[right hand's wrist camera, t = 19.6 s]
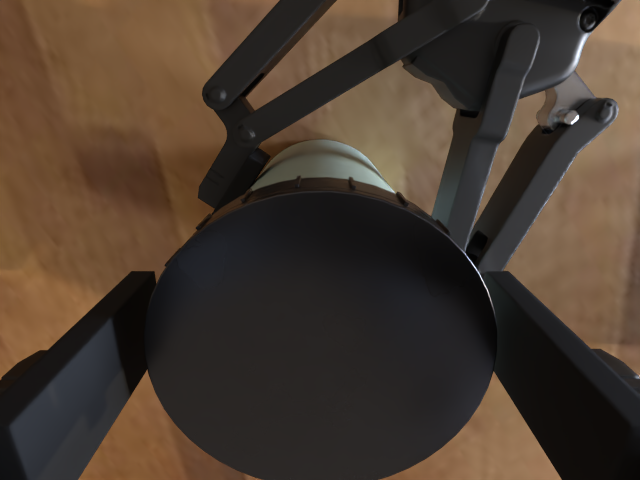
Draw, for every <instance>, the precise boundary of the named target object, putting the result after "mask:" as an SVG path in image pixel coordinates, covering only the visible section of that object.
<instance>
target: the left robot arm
mask: <svg viewBox="0 0 640 480" xmlns="http://www.w3.org/2000/svg"><path fill="white" fill-rule="evenodd" d="M336 1H337V0H280V1H279V2H278V3H277V4H276V5H275V6H274V7H273V9H272V10H271V11H270V12H269V13H268V14H267V15H266V16H265V17H264V19H263V20H262V21H261V22H260V23H259V24H258V25H257V26H256V28H255V29H254V30H253V31H252V32H251V33H250V34H249V35H248V37H247V38H246V39H245V40H244V41H243V42H242V43H241V44H240V46H239V47H238V48H237V49H236V50H235V51H234V52H233V53H232V54H231V56H230V57H229V58H228V59H227V60H226V61H225V62H224V63H223V65H222V66H221V67H220V68H219V69H218V70H217V71H216V72H215V74H214V75H213V76H212V77H211V78H210V79H209V80H208V81H207V82H206V84H205V85H204V87H203V91H202V96H203V100H204V102H205V103H206V105H207V106H209V107H210V108H211V109H213V110H214V111H215V112H216V114H217V115H218V116H219V118H220V119H221V120H222V122H223V123H224V125H225V127H226V130H227V140H226V142H225V144H224V146H223V148H222V149H221V151H220V153H219V154H218V156H217V158H216V159H215V161H214V163H213V164H212V166H211V168H210V170H209V171H208V173H207V174H206V176H205V178H204V179H203V181H202V183H201V184H200V186H199V192H198V198H199V199H200V200H202V201H204V202H205V203H207V204H208V205H210V206H212V207H213V208H215V210H214V211H213V213H212V215H213V214H215V213H216V212H217V211H218V210H219V209H221V208H222V207H224V206H225V205H227V204H229V203H230V202H232V201H233V200H235V199H237V198H238V197H240V196H242V195H244V194H245V193H246V192H247V190H248V189H250V187H251V186H252V185H253V183H254V182H255V180H256V178H257V177H258V175H259V174H260V172H261V171H262V169H263V168H264V166H265V164H266V163H267V161H268V160H269V158H270V157H271V156H270V155H268V154H267V153H265V152H264V151H262V150H261V149H259V148H258V147H259V145H260V144H261V142H263V141H264V140H266V139H268V138H269V137H271V136H273V135H274V134H276V133H278V132H279V131H281V130H283V129H284V128H286V127H288V126H289V125H291V124H293V123H294V122H296V121H298V120H299V119H301V118H303V117H304V116H306V115H308V114H309V113H311V112H313V111H314V110H316V109H318V108H319V107H321V106H323V105H324V104H326V103H328V102H329V101H331V100H333V99H334V98H336V97H338V96H339V95H341V94H343V93H344V92H346V91H348V90H350V89H351V88H353V87H355V86H356V85H358V84H360V83H361V82H363V81H365V80H366V79H368V78H370V77H371V76H373V75H375V74H376V73H378V72H380V71H381V70H383V69H385V68H387V67H388V66H390V65H392V64H394V63H395V62H397V61H399V60H400V59H401V60H402V62H403V64H404V65H403V66H402V67H403V68H404V69H405V70H407V71H408V72H409V73H410V74H412V75H413V76H414V77H416V78H418V79H421V80H423V81H426V82H428V83H431V84H432V85H433V87H434V88H435V90H436V91H437V92H438V94H439V95H440V97H441V98H442V99H443V100H444V101H446V102H447V103H448V104H449V105H451V106H452V107H453V108H457V110H456V114H455V118H454V122H453V138H452V142H451V146H450V149H449V153H448V157H447V160H446V164H445V168H444V172H443V175H442V179H441V183H440V186H439V190H438V194H437V197H436V201H435V205H434V209H433V212H432V216H431V217H432V218H433V219H434V220H436V219H438V220H440V222H441V223H442V224H443V225H444V226H445V227H446V228H447V229H448V230H449V231H450V232H451V233H452V234H451V235H450V237H451V238H452V239H453V240H454V241H455V242H456V243H457V244H458V245H459V247H460V248H461V249H462V250H463V251H464V252H465V253H466V255H467V256H468V257H469V259H470V260H471V261H472V263H473V264H474V265H475V266H476V267H477V268H478V269H479V271H480V275H481V277H482V279H483V281H484V279H485V272H486V271H503V270H504V268H505V266H506V265H507V263H508V262H509V260H510V259H511V257H512V256H513V254H514V252H515V251H516V249H517V248H518V246H519V245H520V243H521V241H522V240H523V238H524V237H525V235H526V234H527V232H528V231H529V229H530V227H531V226H532V224H533V223H534V221H535V220H536V218H537V216H538V215H539V213H540V212H541V210H542V209H543V207H544V206H545V204H546V202H547V201H548V199H549V198H550V196H551V195H552V193H553V192H554V190H555V188H556V187H557V185H558V184H559V182H560V181H561V179H562V177H563V176H564V174H565V173H566V171H567V170H568V168H569V167H570V165H571V163H572V162H573V160H574V159H575V157H576V156H577V154H578V153H579V152H580V151H581V150H582V149H583V148H584V147H586V146H587V145H588V144H589V143H590V142H591V141H592V140H594V139H595V138H596V137H597V136H598V135H599V134H600V133H602V132H603V131H604V130H605V129H606V128H607V127H608V126H610V125H611V124H612V123H613V122H614V120H615V119H616V117H617V115H618V105H617V103H616V102H615V101H614V100H613V99H609V98H596V97H595V96H594V95H593V94H592V92H591V91H590V90H589V89H588V87H587V86H586V85H585V83H584V82H583V81H582V80H581V78H580V77H579V76H578V75H577V73H576V72H575V71H574V70H575V69H576V67H577V65H578V63H579V59H580V56H581V52H582V49H583V47H584V45H585V42H586V41H587V39H588V37H589V35H590V34H591V33H592V31H593V30H594V29H595V28H596V27H597V26H598V25H599V24H600V23H601V22H602V21H603V20H604V19H605V18H606V17H607V16H608V15H609V14H610V13H611V12H612V11H613V9H614V8H615V7H616V6H617V5H618V4H619V3H620V1H621V0H399V9H398V22H397V23H396V24H394V25H392V26H391V27H389V28H388V29H386V30H384V31H383V32H381V33H380V34H378V35H377V36H375V37H374V38H372V39H371V40H369V41H368V42H366V43H364V44H363V45H361V46H360V47H358V48H356V49H355V50H353V51H352V52H350V53H348V54H347V55H345V56H343V57H342V58H340V59H339V60H337V61H335V62H334V63H332V64H330V65H329V66H327V67H326V68H324V69H322V70H321V71H319V72H317V73H316V74H314V75H313V76H311V77H309V78H308V79H306V80H305V81H303V82H301V83H300V84H298V85H296V86H295V87H293V88H292V89H290V90H288V91H287V92H285V93H283V94H282V95H280V96H279V97H277V98H275V99H274V100H272V101H270V102H269V103H267V104H266V105H264V106H262V107H261V108H259V109H258V110H256V111H255V110H254V109H253V108H252V106H251V105H250V104H249V102H248V101H247V99H246V97H247V96H248V95H249V93H250V92H251V91H252V90H253V89H254V88H255V87H256V86H257V85H258V84H259V83H260V82H261V81H262V80H263V78H264V77H265V76H266V75H267V74H268V73H269V72H270V71H271V70H272V69H273V68H274V67H275V66H276V65H277V64H278V62H279V61H280V60H281V59H282V58H283V57H284V56H285V55H286V54H287V53H288V52H289V51H290V50H291V49H292V48H293V46H294V45H295V44H296V43H297V42H298V41H299V40H300V39H301V38H302V37H303V36H304V35H305V34H306V33H307V31H308V30H309V29H310V28H311V27H312V26H313V25H314V24H315V23H316V22H317V21H318V20H319V19H320V18H321V17H322V15H323V14H324V13H325V12H326V11H327V10H328V9H329V8H330V7H331V6H332V5H333V4H334V3H335V2H336ZM541 91H545V93H546V100H545V103H544V105H543V107H542V108H541V109H540V110H539V111H538V112H537V115H536V118H537V120H538V125H537V126H536V127H535V128H534V129H533V131H532V132H531V133H530V134H529V135H528V137H527V138H526V140H525V141H524V143H523V144H522V146H521V147H520V149H519V151H518V153H517V154H516V156H515V158H514V159H513V161H512V163H511V164H510V166H509V168H508V170H507V171H506V173H505V175H504V176H503V178H502V180H501V181H500V183H499V185H498V187H497V188H496V190H495V192H494V193H493V195H492V197H491V198H490V200H489V202H488V204H487V205H486V207H485V209H484V210H483V212H482V214H481V215H480V217H479V219H478V221H477V222H476V224H475V226H474V227H473V225H474V222H475V218H476V215H477V212H478V209H479V206H480V202H481V199H482V196H483V193H484V190H485V186H486V183H487V180H488V177H489V174H490V170H491V167H492V164H493V161H494V158H495V154H496V151H497V148H498V145H499V144H500V143H501V142H502V141H503V140H504V139H505V137H506V136H507V133H508V131H509V128H510V124H511V121H512V118H513V115H514V112H515V109H516V105H517V102H518V99H521V98H524V97H527V96H530V95H533V94H535V93H538V92H541ZM472 228H473V229H472Z"/></svg>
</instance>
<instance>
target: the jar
mask: <svg viewBox="0 0 640 480" xmlns="http://www.w3.org/2000/svg"><path fill="white" fill-rule="evenodd" d="M300 175H301V178H309V177H332V178H341V179H349V177H353V179H354V180H355V181H359V182H363V183H367V184H371V185H375V186H378V187H380V188H383V189H385V190H388V191H390V192H393V193H394V191H393V190H392V189H391V187H390V186H389V185H388V183H387V182H386V181H385V179H384V178H383V177H382V175H381V174H380V173H379V171H378V170H377V169H376V167H375V166H374V165H373V164H372V163H371V162H370V160H369V159H368V158H367V157H365V156H364V155H363V154H362V153H361V152H359V151H358V150H356V149H354V148H353V147H351V146H348V145H346V144H344V143H340V142H337V141H332V140H321V139H317V140H308V141H304V142H300V143H297V144H295V145H292V146H290V147H288V148H286V149H285V150H283V151H281V152H280V153H279V154H278V155H276V156H275V157H274V158H273V159H272V160H271V161H270V162H269V163H268V165H267V166H266V167H265V169H264V170H263V171H262V173H261V174H260V175H259V177H258V178H257V179H256V181H255V182H254V183H253V185H252V186H251V187H250V188H252V190H253V191H254V190H256V189H258V188H260V187H264V186H267V185H271V184H274V183H278V182H281V181H286V180H293V179H296V178H297V176H300Z"/></svg>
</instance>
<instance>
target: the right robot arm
mask: <svg viewBox="0 0 640 480" xmlns="http://www.w3.org/2000/svg"><path fill="white" fill-rule="evenodd" d="M484 283H485V285H486V287H487V289H488V292H489V295H490V298H491V301H492V304H493V307H494V311H495V318H496V325H497V354H496V360H495V366H494V372H495V374H496V375H497V377H498V379H499V380H500V382H501V383H502V385H503V386H504V388H505V390H506V391H507V393H508V394H509V396H510V398H511V399H512V401H513V402H514V404H515V406H516V407H517V409H518V410H519V412H520V414H521V415H522V417H523V418H524V420H525V422H526V423H527V425H528V426H529V428H530V429H531V431H532V433H533V434H534V436H535V437H536V439H537V441H538V442H539V444H540V445H541V447H542V449H543V450H544V452H545V453H546V455H547V457H548V458H549V460H550V461H551V463H552V464H553V466H554V468H555V469H556V471H557V472H558V474H559V476H560V477H561V479H562V480H640V379H639V376H638V375H637V374H636V373H635V372H634V371H633V370H631V369H630V368H629V367H628V366H627V365H626V364H625V363H624V362H622V361H621V360H619V359H617V358H615V357H614V356H612V355H610V354H608V353H607V352H605V351H603V350H601V349H590V348H589V347H588V346H587V345H586V344H585V343H584V342H583V341H582V340H581V339H580V338H579V337H578V336H577V335H576V334H575V333H573V332H572V331H571V330H570V329H569V328H568V327H567V326H566V325H565V324H564V323H563V322H562V321H561V320H560V319H559V318H557V317H556V316H555V315H554V314H553V313H552V312H551V311H550V310H549V309H548V308H547V307H546V306H545V305H544V304H543V303H542V302H540V301H539V300H538V299H537V298H536V297H535V296H534V295H533V294H532V293H531V292H530V291H529V290H528V289H527V288H526V287H524V286H523V285H522V284H521V283H520V282H519V281H518V280H517V279H516V278H515V277H514V276H513V275H512V274H511V273H510V272H508V271H486V272H485V279H484ZM155 286H156V279H155V272H154V271H132V272H130V273H129V274H128V275H127V276H126V277H125V278H124V279H123V280H122V281H121V282H120V283H119V284H118V285H117V286H116V287H114V288H113V289H112V290H111V291H110V292H109V293H108V294H107V295H106V296H105V297H104V298H103V299H102V300H101V301H100V302H98V303H97V304H96V305H95V306H94V307H93V308H92V309H91V310H90V311H89V312H88V313H87V314H86V315H85V316H84V317H83V318H81V319H80V320H79V321H78V322H77V323H76V324H75V325H74V326H73V327H72V328H71V329H70V330H69V331H68V332H67V333H65V334H64V335H63V336H62V337H61V338H60V339H59V340H58V341H57V342H56V343H55V344H54V345H53V346H52V347H51V348H50V349H48V350H40V351H38V352H36V353H34V354H33V355H31V356H29V357H27V358H26V359H24V360H22V361H20V362H19V363H17V364H16V365H15V366H14V367H13V368H12V369H11V370H9V371H8V372H7V373H6V374H5V375H4V376H3V377H2V379H1V380H0V480H78V479H79V477H80V476H81V474H82V472H83V471H84V469H85V468H86V466H87V464H88V463H89V461H90V460H91V458H92V457H93V455H94V453H95V452H96V450H97V449H98V447H99V445H100V444H101V442H102V441H103V439H104V437H105V436H106V434H107V433H108V431H109V429H110V428H111V426H112V425H113V423H114V422H115V420H116V418H117V417H118V415H119V414H120V412H121V410H122V409H123V407H124V406H125V404H126V402H127V401H128V399H129V398H130V396H131V394H132V393H133V391H134V390H135V388H136V386H137V385H138V383H139V382H140V380H141V379H142V377H143V375H144V374H145V372H146V371H147V364H146V359H145V350H144V329H145V319H146V313H147V310H148V306H149V302H150V299H151V295H152V293H153V291H154V289H155Z"/></svg>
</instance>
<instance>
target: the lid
mask: <svg viewBox="0 0 640 480" xmlns="http://www.w3.org/2000/svg"><path fill="white" fill-rule="evenodd" d="M196 229H197V231H196V232H195V233H194V234H193V235H192V236H191V238H190V239H189V240H188V241H187V242H186V243H185V244H184V245H183V246H182V247H181V248H179V249H178V251H177V252H176V253H175V254H174V255H173V256H172V257H171V258H170V259H169V260H168V261H167V263H166V264H165V266H166V268H165V270H164V271H163V273H162V274H161V276H160V278H159V280H158V282H157V284H156V286H155V289H154V291H153V293H152V295H151V299H150V302H149V306H148V310H147V313H146V319H145V329H144V350H145V359H146V364H147V369H148V373H149V377H150V379H151V382H152V385H153V387H154V390H155V393H156V394H157V396H158V398H159V400H160V402H161V404H162V406H163V407H164V409H165V411H166V412H167V413H168V415H169V416H170V418H171V419H172V420H173V422H174V423H175V424H176V425H177V427H178V428H179V429H180V430H181V431H182V432H183V433H184V434H185V435H186V436H187V437H188V438H189V439H190V440H191V441H192V442H194V443H195V444H196V445H197V446H198V447H200V448H201V449H202V450H203V451H205V452H206V453H208V454H209V455H211V456H212V457H214V458H215V459H217V460H218V461H220V462H222V463H224V464H226V465H228V466H229V467H231V468H233V469H235V470H237V471H240V472H242V473H245V474H248V475H250V476H253V477H255V478H259V479H262V480H379V479H382V478H385V477H389V476H392V475H394V474H396V473H399V472H401V471H403V470H406V469H408V468H410V467H412V466H414V465H416V464H417V463H419V462H421V461H423V460H425V459H426V458H428V457H429V456H431V455H432V454H434V453H435V452H436V451H438V450H439V449H441V448H442V447H443V446H444V445H445V444H447V443H448V442H449V441H450V440H451V439H452V438H453V437H454V436H456V435H457V433H458V432H459V431H460V430H461V429H462V428H463V427H464V425H465V424H466V423H467V422H468V421H469V420H470V418H471V417H472V415H473V414H474V412H475V411H476V409H477V408H478V406H479V405H480V403H481V401H482V399H483V397H484V395H485V393H486V391H487V389H488V386H489V383H490V380H491V377H492V374H493V371H494V366H495V360H496V354H497V325H496V318H495V311H494V307H493V304H492V301H491V298H490V295H489V292H488V289H487V287H486V285H485V283H484V281H483V279H482V277H481V275H480V271H479V269H478V268H477V267H476V266H475V265H474V264H473V263H472V261H471V260H470V259H469V257H468V256H467V255H466V253H465V252H464V251H463V250H462V249H461V248H460V247H459V245H458V244H457V243H456V242H455V241H454V240H453V239H452V238H451V237H450V235H451V234H452V233H451V232H450V231H449V230H448V229H447V228H446V227H445V226H444V225H443V224H442V223H441V222H440V220H438V219H436V220H434V219H433V218H432V217H431V216H429V215H428V214H427V213H425V212H424V211H423V210H422V209H420V208H419V207H418V206H416V205H415V204H413V203H411V202H410V201H408V200H406V199H405V198H404V196H403V195H402V194H401V193H400V192H397V193H396V194H395V193H393V192H390V191H388V190H385V189H383V188H380V187H378V186H375V185H371V184H367V183H363V182H359V181H355V180H354V179H353V177H349V179H341V178H332V177H309V178H301V175H300V176H297V178H296V179H293V180H286V181H281V182H278V183H274V184H271V185H267V186H264V187H260V188H258V189H256V190H254V191H253V190H252V188H250V189H248V190H247V192H246V193H245V194H244V195H242V196H240V197H238V198H237V199H235V200H233V201H232V202H230V203H229V204H227V205H225V206H224V207H222V208H221V209H219V210H218V211H217V212H216V213H215V214H213V215H211V214H208V215H207V216H206V217H205V218H204V219H203V221H202V222H201V223H200V224H199V225H198V226H197V227H196Z"/></svg>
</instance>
